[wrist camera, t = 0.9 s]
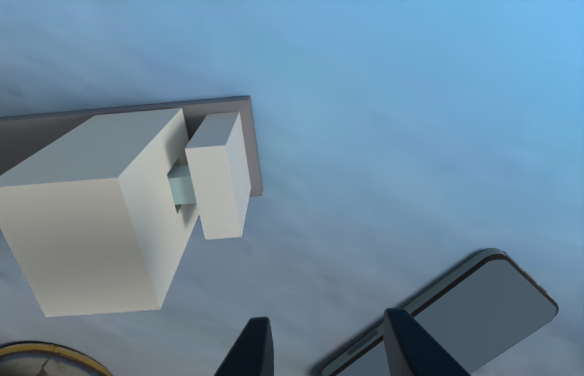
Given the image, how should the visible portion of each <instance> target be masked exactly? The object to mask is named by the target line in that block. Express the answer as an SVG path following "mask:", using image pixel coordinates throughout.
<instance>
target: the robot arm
mask: <svg viewBox="0 0 584 376" xmlns="http://www.w3.org/2000/svg"><path fill="white" fill-rule="evenodd" d="M383 338H384V346H385V351H386V356H387V361H388V366H389V371H390V376H471V375H470V374H469V373H468V372H467V371H466V370H465V369H464V368H463V367H462V366H461V365H460V364H459V363H458V362H457V361H456V360H455V359H454V358H453V357H452V356H451V355H450V354H449V353H448V352H447V351H446V350H445V349H444V348H443V347H442V346H441V345H440V344H439V343H438V342H437V341H436V340H435V339H434V338H433V337H432V336H431V335H430V334H429V333H428V332H427V331H426V330H425V329H424V328H423V327H422V326H421V325H420V324H419V323H418V322H417V321H416V320H415V319H414V318H413V317H412V316H411V315H410V314H409V313H408V312H407V311H406V310H405V309H404V308H387V309H386V310H385V311H384V329H383ZM214 376H274V349H273V339H272V333H271V326H270V320H269V318H268V317H254V318H251V319H250V320H249V321H248V323H247V324H246V326H245V327H244V329H243V331H242V332H241V334H240V335H239V337H238V338H237V340H236V342H235V343H234V345H233V346H232V348H231V349H230V351H229V353H228V354H227V356H226V357H225V359H224V360H223V362H222V364H221V365H220V367H219V368H218V370H217V371H216V373H215V375H214Z"/></svg>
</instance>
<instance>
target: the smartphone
mask: <svg viewBox="0 0 584 376" xmlns="http://www.w3.org/2000/svg"><path fill="white" fill-rule="evenodd" d="M404 309H405V310H406V311H407V312H408V313H409V314H410V315H411V316H412V317H413V318H414V319H415V320H416V321H417V322H418V323H419V324H420V325H421V326H422V327H423V328H424V329H425V330H426V331H427V332H428V333H429V334H430V335H431V336H432V337H433V338H434V339H435V340H436V341H437V342H438V343H439V344H440V345H441V346H442V347H443V348H444V349H445V350H446V351H447V352H448V353H449V354H450V355H451V356H452V357H453V358H454V359H455V360H456V361H457V362H458V363H459V364H460V365H461V366H462V367H463V368H464V369H465V370H466V371H467V372H468V373H469V374H471V373H472V372H474V371H475V370H477V369H479V368H480V367H482V366H483V365H485V364H486V363H488V362H489V361H491V360H492V359H494V358H495V357H497V356H498V355H500V354H501V353H503V352H505V351H506V350H508V349H509V348H511V347H512V346H514V345H515V344H517V343H518V342H520V341H521V340H523V339H524V338H526V337H528V336H529V335H531V334H532V333H534V332H535V331H537V330H538V329H540V328H541V327H543V326H544V325H546V324H547V323H549V322H551V321H552V320H553V318H554V317H555V316H556V315H557V313H558V309H559V307H558V305H557V303H556V302H555V301H554V300H553V299H552V298H551V297H550V296H549V295H548V294H547V292H546V291H545V290H544V289H543V288H541V286H539V285H538V284H537V283H536V282H535V281H534V280H533V279H532V278H531V277H530V276H529V275H528V274H527V273H526V272H525V271H524V270H523V269H522V268H520V267H519V266H518V265H517V264H516V263H515V262H514V261H513V260H512V259H511V258H510V257H509V256H508V255H507V254H506V253H505V252H503V251H501V250H499V249H496V248H490V249H486V250H483V251H481V252H479V253H478V254H477V255H475V256H474V257H472V258H471V259H470V260H468V261H467V262H466V263H464V264H463V265H461V266H460V267H459V268H457V269H456V270H455V271H453V272H452V273H450V274H449V275H448V276H446V277H445V278H444V279H442V280H441V281H439V282H438V283H437V284H435V285H434V286H432V287H431V288H430V289H428V290H427V291H426V292H424V293H423V294H421V295H420V296H419V297H417V298H416V299H415V300H413V301H412V302H410V303H409V304H408V305H406V306H405V307H404ZM383 329H384V322H383V323H382V324H381V325H379V326H378V327H377V328H375V329H374V330H373V331H371V332H370V333H369V334H368V335H366V336H365V337H364V338H362V339H361V340H360V341H358V342H357V343H356V344H355V345H353V346H352V347H351V348H349V349H348V350H347V351H345V352H344V353H343V354H341V355H340V356H339V357H338V358H336V359H335V360H334V361H332V362H331V363H330V364H328V365H327V366H326V367H325V368H324V369H323V370H322V376H390V371H389V366H388V361H387V356H386V351H385V346H384V338H383Z"/></svg>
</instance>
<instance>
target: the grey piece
mask: <svg viewBox="0 0 584 376" xmlns="http://www.w3.org/2000/svg"><path fill="white" fill-rule="evenodd" d="M175 108H182V111H183V115H184V120H185V124H186V129H187V133H188V138H189V143H188V144H187V146H186V147H185V152H186V157H187V161H188V165H185V166H172V168H171V169H170V171H169V172H168V174H167V177H168V181H169V185H170V188H171V192H172V196H173V200H174V204H175V205H179V204H192V203H197V205H198V210H199V214H200V218H201V223H202V227H203V232H204V236H205V239H219V238H232V237H242V232H243V227H244V221H245V216H246V211H247V206H248V201H249V197H252V196H262V191H263V186H262V179H261V172H260V164H259V157H258V149H257V142H256V134H255V127H254V120H253V112H252V105H251V97H250V96H241V97H230V98H218V99H207V100H195V101H184V102H172V103H161V104H149V105H138V106H126V107H115V108H103V109H92V110H80V111H69V112H57V113H46V114H34V115H23V116H12V117H0V176H1V175H2V174H4V173H5V172H7V171H8V170H10V169H12V168H13V167H15V166H16V165H18V164H19V163H21V162H23V161H24V160H26V159H27V158H29V157H30V156H32V155H34V154H35V153H37V152H38V151H40V150H41V149H43V148H45V147H46V146H48V145H49V144H51V143H52V142H54V141H56V140H57V139H59V138H60V137H62V136H63V135H65V134H67V133H68V132H70V131H71V130H73V129H74V128H76V127H78V126H79V125H81V124H82V123H84V122H85V121H87V120H89V119H90V118H92V117H93V116H95V115H105V114H117V113H128V112H140V111H151V110H163V109H175Z"/></svg>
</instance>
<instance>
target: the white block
mask: <svg viewBox="0 0 584 376" xmlns="http://www.w3.org/2000/svg"><path fill="white" fill-rule="evenodd" d="M188 143H189V138H188V133H187V129H186V124H185V120H184V115H183V111H182V108H175V109H163V110H151V111H140V112H128V113H117V114H105V115H95V116H93V117H92V118H90V119H89V120H87V121H85V122H84V123H82V124H81V125H79V126H78V127H76V128H74V129H73V130H71V131H70V132H68V133H67V134H65V135H63V136H62V137H60V138H59V139H57V140H56V141H54V142H52V143H51V144H49V145H48V146H46V147H45V148H43V149H41V150H40V151H38V152H37V153H35V154H34V155H32V156H30V157H29V158H27V159H26V160H24V161H23V162H21V163H19V164H18V165H16V166H15V167H13V168H12V169H10V170H8V171H7V172H5V173H4V174H2V175H1V176H0V229H1V231H2V233H3V235H4V237H5V239H6V241H7V243H8V245H9V247H10V249H11V251H12V253H13V254H14V256H15V258H16V260H17V262H18V264H19V266H20V268H21V270H22V272H23V274H24V276H25V278H26V280H27V282H28V284H29V286H30V288H31V290H32V292H33V293H34V295H35V297H36V299H37V301H38V303H39V305H40V307H41V309H42V311H43V313H44V315H45V317H59V316H73V315H88V314H102V313H116V312H131V311H145V310H159V309H161V306H162V304H163V301H164V299H165V297H166V294H167V292H168V289H169V287H170V284H171V282H172V279H173V277H174V274H175V272H176V269H177V267H178V264H179V262H180V259H181V257H182V255H183V252H184V250H185V247H186V245H187V242H188V240H189V237H190V235H191V232H192V230H193V227H194V225H195V222H196V220H197V218H198V215H199V210H198V205H197V203H192V204H179V205H175V204H174V200H173V196H172V192H171V188H170V185H169V181H168V177H167V174H168V172H169V171H170V169H171V168H172V166H185V165H188V161H187V157H186V152H185V147H186V146H187V144H188Z"/></svg>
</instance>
